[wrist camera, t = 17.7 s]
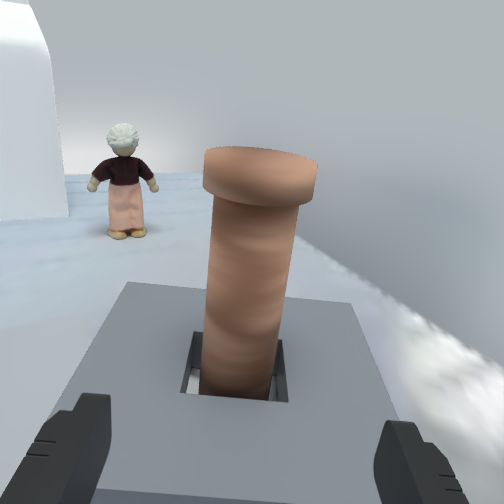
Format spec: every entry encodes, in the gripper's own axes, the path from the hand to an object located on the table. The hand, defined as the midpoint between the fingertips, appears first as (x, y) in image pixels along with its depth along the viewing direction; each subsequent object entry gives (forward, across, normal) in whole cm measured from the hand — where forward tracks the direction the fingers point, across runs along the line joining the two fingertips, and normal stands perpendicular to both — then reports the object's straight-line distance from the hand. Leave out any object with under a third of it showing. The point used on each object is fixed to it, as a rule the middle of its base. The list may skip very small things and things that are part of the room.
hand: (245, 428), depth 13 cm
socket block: (+12, 0, +10) cm, 16 cm away
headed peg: (+12, 0, +10) cm, 16 cm away
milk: (+44, +30, +10) cm, 54 cm away
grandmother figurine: (+38, +14, +10) cm, 42 cm away
